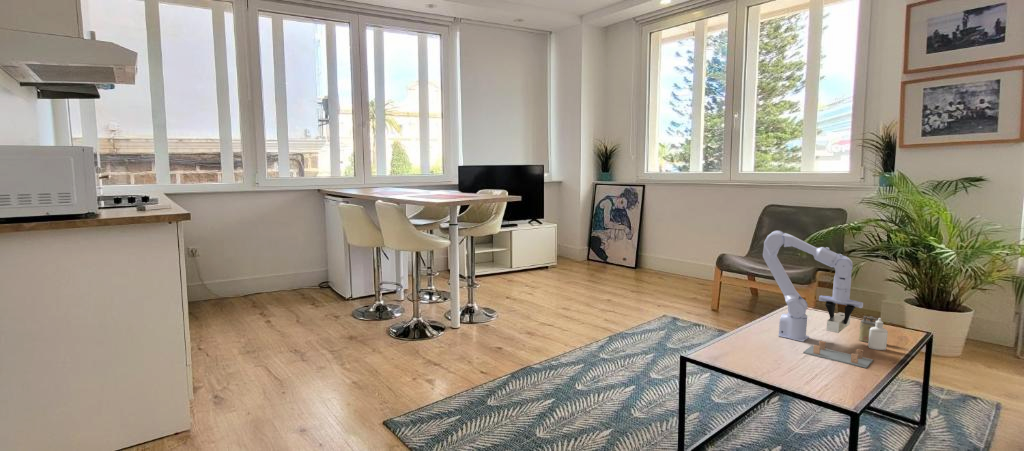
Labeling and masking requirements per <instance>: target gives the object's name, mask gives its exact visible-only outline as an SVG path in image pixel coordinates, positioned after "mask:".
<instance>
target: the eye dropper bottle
mask: <svg viewBox="0 0 1024 451" xmlns="http://www.w3.org/2000/svg"><path fill="white" fill-rule="evenodd" d="M888 336H889V335H888V330H887V329H886V328H884V322H883V321H882V318H881V317H878V321H876V323H875V327H871V328H870V331H869V341H868V342H867V347H868V348H869V349H870V350H871V349H872V350H876V351H886V350H887V345H888V344H887V343H888Z"/></svg>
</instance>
